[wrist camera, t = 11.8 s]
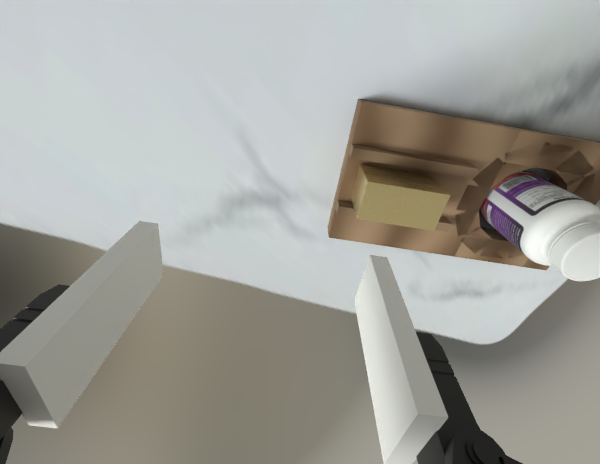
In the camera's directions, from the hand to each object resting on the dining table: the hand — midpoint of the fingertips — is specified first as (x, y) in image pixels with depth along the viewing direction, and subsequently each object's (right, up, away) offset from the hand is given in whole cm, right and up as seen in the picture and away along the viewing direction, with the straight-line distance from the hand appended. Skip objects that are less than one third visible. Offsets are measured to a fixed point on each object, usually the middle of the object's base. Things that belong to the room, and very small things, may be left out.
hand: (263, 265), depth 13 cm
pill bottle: (+21, +5, +15) cm, 26 cm away
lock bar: (+9, +5, +12) cm, 16 cm away
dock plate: (+16, +5, +14) cm, 22 cm away
